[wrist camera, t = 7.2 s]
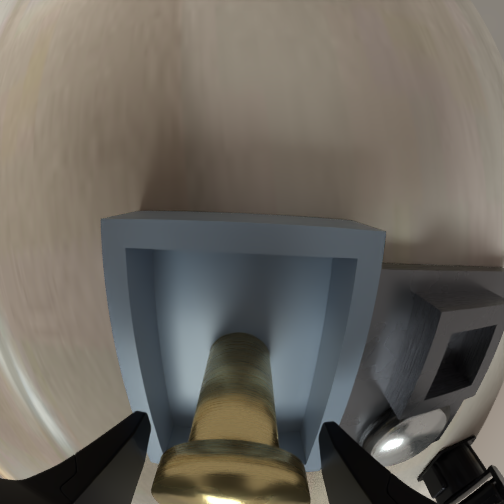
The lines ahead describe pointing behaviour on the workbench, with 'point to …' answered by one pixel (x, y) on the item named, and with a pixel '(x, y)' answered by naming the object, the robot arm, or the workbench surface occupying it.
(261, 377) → the pin
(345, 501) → the robot arm
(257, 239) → the pin tray
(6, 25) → the workbench surface
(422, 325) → the grey socket base
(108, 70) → the workbench surface
